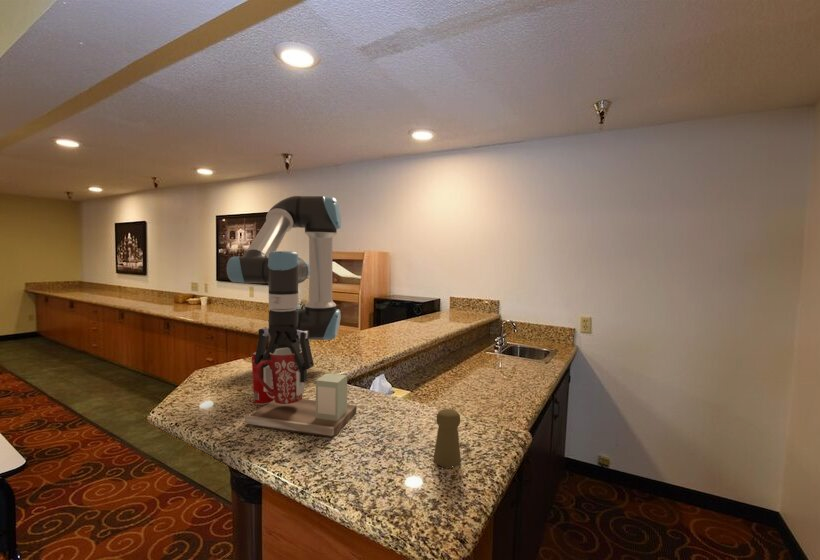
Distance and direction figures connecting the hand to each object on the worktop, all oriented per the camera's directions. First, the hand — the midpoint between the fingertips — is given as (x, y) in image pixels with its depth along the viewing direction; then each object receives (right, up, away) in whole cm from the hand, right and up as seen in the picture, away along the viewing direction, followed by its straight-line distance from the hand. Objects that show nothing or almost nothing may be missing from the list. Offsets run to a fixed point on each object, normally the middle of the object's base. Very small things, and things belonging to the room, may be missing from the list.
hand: (283, 391), depth 105 cm
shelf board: (+6, -7, -1) cm, 9 cm away
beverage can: (-9, -6, +10) cm, 15 cm away
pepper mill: (+42, -9, -20) cm, 48 cm away
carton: (+13, -5, -3) cm, 15 cm away
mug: (0, -3, 0) cm, 3 cm away
